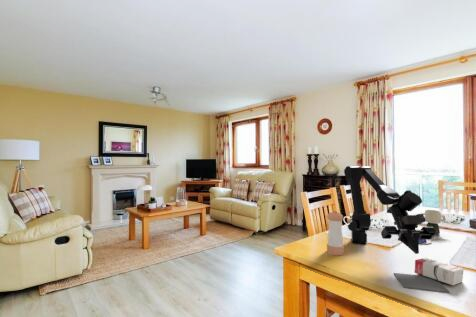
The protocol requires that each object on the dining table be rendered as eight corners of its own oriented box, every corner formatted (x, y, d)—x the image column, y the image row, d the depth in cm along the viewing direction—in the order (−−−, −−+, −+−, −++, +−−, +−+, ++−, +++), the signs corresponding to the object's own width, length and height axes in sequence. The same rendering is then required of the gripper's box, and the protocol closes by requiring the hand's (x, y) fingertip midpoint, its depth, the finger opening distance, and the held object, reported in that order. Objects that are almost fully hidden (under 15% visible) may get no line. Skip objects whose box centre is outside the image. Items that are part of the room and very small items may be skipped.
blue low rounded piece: (403, 236, 142) (403, 226, 142) (430, 239, 136) (430, 230, 136) (404, 242, 132) (403, 232, 132) (433, 246, 125) (433, 236, 125)
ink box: (414, 273, 95) (453, 286, 85) (414, 259, 95) (454, 271, 85) (424, 269, 100) (463, 282, 90) (425, 256, 100) (464, 267, 90)
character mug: (445, 234, 144) (445, 211, 144) (444, 237, 138) (444, 213, 138) (421, 230, 151) (421, 208, 151) (420, 233, 146) (420, 210, 145)
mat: (403, 287, 86) (403, 286, 86) (393, 273, 96) (393, 272, 96) (449, 292, 83) (449, 291, 83) (434, 277, 93) (434, 276, 93)
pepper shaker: (331, 248, 123) (331, 208, 123) (346, 252, 118) (346, 210, 118) (324, 252, 118) (323, 211, 118) (339, 256, 113) (339, 213, 113)
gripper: (384, 205, 102) (399, 242, 91) (434, 206, 100) (455, 243, 89) (375, 220, 110) (388, 256, 99) (421, 221, 108) (439, 257, 97)
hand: (417, 253), depth 96 cm, fingers closed
